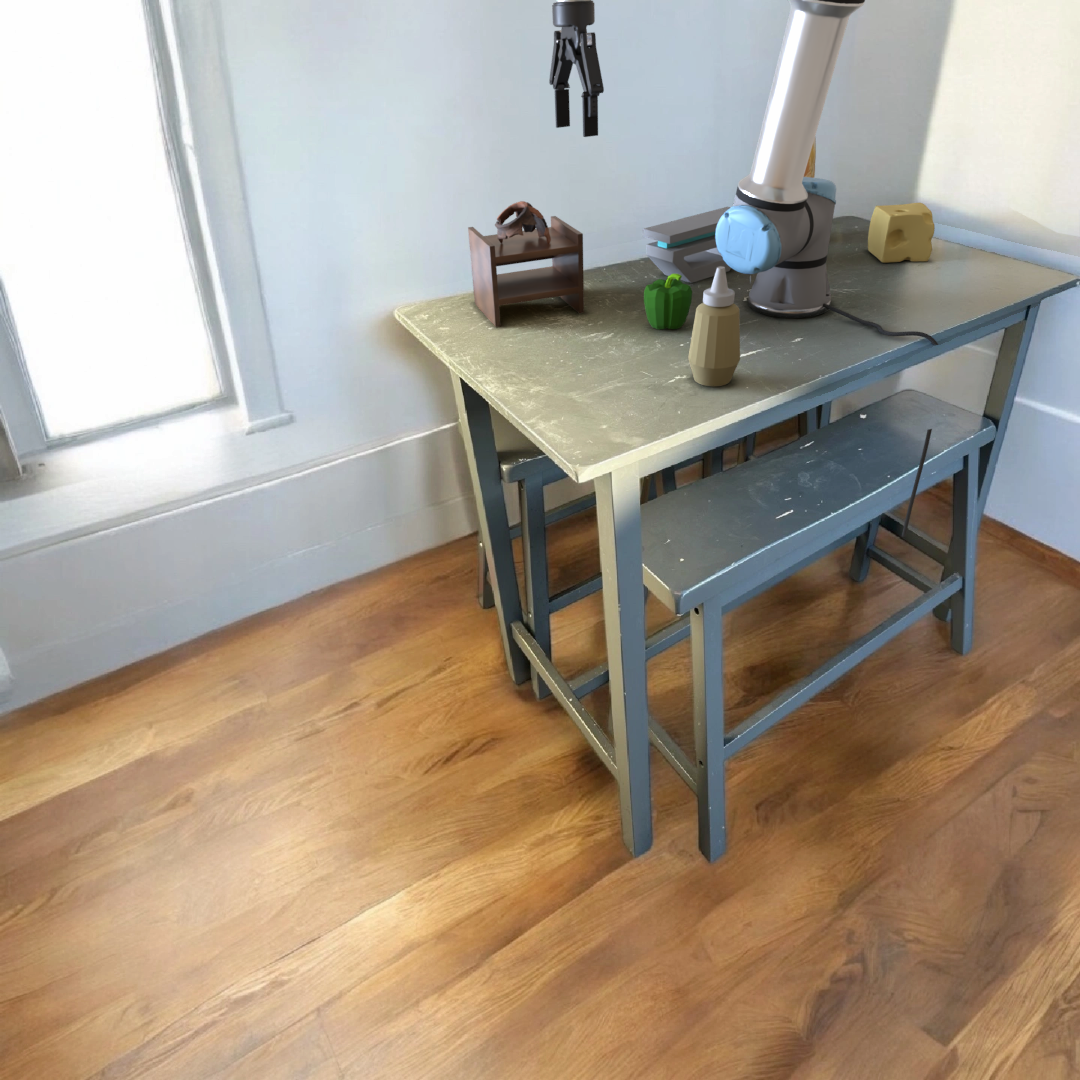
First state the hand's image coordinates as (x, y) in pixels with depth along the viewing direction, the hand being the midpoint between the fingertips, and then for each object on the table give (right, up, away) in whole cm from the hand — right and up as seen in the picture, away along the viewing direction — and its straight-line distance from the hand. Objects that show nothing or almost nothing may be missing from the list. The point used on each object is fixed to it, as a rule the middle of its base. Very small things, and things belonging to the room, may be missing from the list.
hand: (576, 131), depth 163 cm
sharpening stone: (+27, -21, +21) cm, 40 cm away
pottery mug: (-10, -21, -1) cm, 24 cm away
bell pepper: (+16, -39, -5) cm, 42 cm away
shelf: (-9, -32, +7) cm, 34 cm away
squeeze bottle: (+21, -53, -26) cm, 62 cm away
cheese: (+71, -16, +24) cm, 77 cm away
